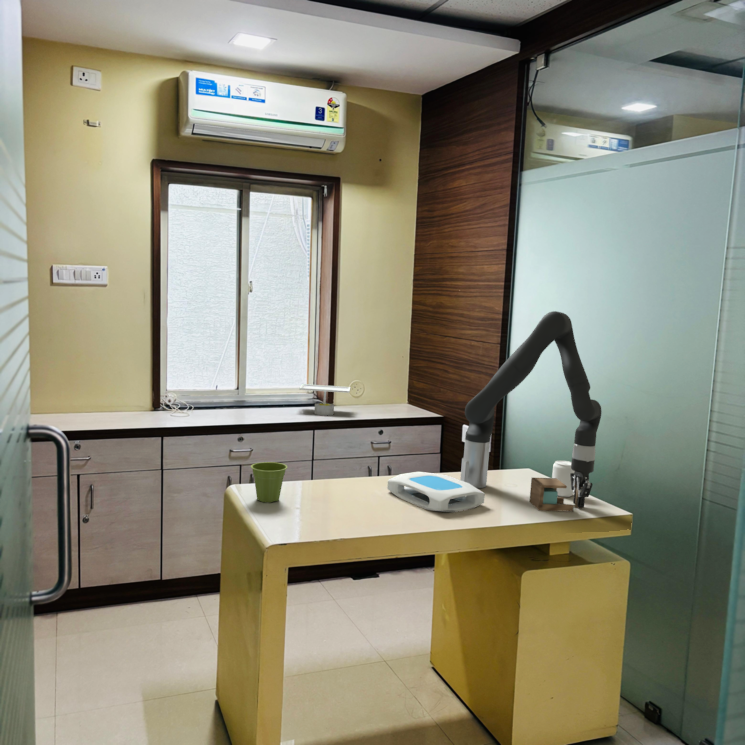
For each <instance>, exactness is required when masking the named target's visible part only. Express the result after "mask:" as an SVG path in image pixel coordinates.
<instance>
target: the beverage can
mask: <svg viewBox="0 0 745 745" xmlns="http://www.w3.org/2000/svg"><path fill="white" fill-rule="evenodd" d="M571 462H572V461H569V460H555V461H554V463H553V466H552V474H551V478H557V479H558V480H559V481H561V482H562V483H563V484H565V485H566V486H567V488H557V492H558V495H557V497H563V498H570V497H572V496H574V493H573V490H572V489H571V477H570V474H571V473H574V472H575V471H573V470H572V469H571Z"/></svg>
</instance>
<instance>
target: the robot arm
mask: <svg viewBox="0 0 745 745" xmlns="http://www.w3.org/2000/svg"><path fill="white" fill-rule="evenodd" d="M574 333H575V332H574V329H573V324H572V320H571V318H570V317H569V315H567V314H566V313H564V312H561V311H556V310H555V311H554V310H553V311H549V312H548V313H546V314H545V315H543V316H542V318H541V320H539V322H538V323H537V325H536V326H535V328H534V329H533V330H532V332H531V333H530V335H529V336H528V337H527V338H526V339H525V340H524V341H523V342H522V343H521V344H520V345H519V346H518V348H516V350H514V352H513V353H512V354H510V356H509V357H508V358H507V359H506V360H505V362H504V363H503V364H502V365H501V366H500V367H499V368H498V370H497V371H496V373H495V374H494V375H493V376H492V377H491V379H490V380H489V382H488V383H487V384H486V385H485V386H484V387H483V388H482V390H480V391H479V392H478V393H477V394H476V395H475V396H474V397H472V398H471V399H470V400H469V401H468V402H467V404H466V405H465V409H464V416H465V418H466V420H467V421H468V422H469V423H468V424H469V425H468V428H467V429H466V432H465V436H464V448H463V449H464V450H463V457H462V458H461V468H460V469H461V470H460V479H459V480H461V481H464V482H467V483H469V484H471V485H472V486H474V487H475V488H477V489H484V488H486V487H487V482H488V470H489V459H490V458H489V457H490V444H491V436H492V434H493V430H494V421H495V407H496V406H497V405H498V403H499V402H500V401H501V400H502V399H503V398H504V397H506V396H507V395H508V394H510V393H511V392H512V391H513V390H515V389H516V388H517V387H519V385H520V384H521V383H523V381H524V380H525V379H526V378H527V377H528V376H529V375H530V374H531V372H532V371H533V369H535V367H536V365H537V362H538V361H539V359H540V358H541V356H542V354H543V352H544V351H545V350H546V349H547V348H548V347H549V346H550V345H551V344H552V343H553V342H554V343H555V344H556V346H557V349H558V352H559V355H560V360H561V366H562V371H563V372H562V373H563V375H564V378H565V379H564V380H565V381H566V382H565V383H566V385H567V387H568V390H569V392H570V399H571V405H572V410H573V412H574V415H575V416H576V418H577V419H578V420H579V421H580V422H579V425H578V427H576V429H575V432H574V442H573V446H572V455H571V461H570V462H571V469H572V470H573V471H575V472H574V473H571V474H570V477H571V489H572V490H573V493H574V494H573V503H572V504H573V505H575V499H576V489H577V490H578V502H577V507H579V508H578V509H582V508H584V507H585V501H586V500H585V499H586V498H589V496H590V493H591V490H592V487H593V484H594V483H593V482H590V474H591V473H593V472H594V469H595V460H596V442H597V441H596V440H597V432H598V428H599V426H600V421H601V417H602V405H601V404H600V403H599V401H597V400H595V399H591V395H590V390H591V384H590V382H589V379H588V376H587V373H586V371H585V367H584V365H583V362H582V359H581V357H580V354H579V351H578V347H577V343H576V339H575V335H574ZM580 487H583V488H580ZM581 491H582V492H581Z"/></svg>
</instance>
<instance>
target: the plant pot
mask: <svg viewBox="0 0 745 745" xmlns="http://www.w3.org/2000/svg"><path fill="white" fill-rule="evenodd" d="M250 468H251V469H252V475H253V478H254V485H255V495H256V500H257V501H260V502H261V503H273V502H278V501H279V500H280V497H281V491H282V486H283V481H284V476H285V473H286V470H287V469H288V465H287V464H284V463H282V462H281V463H280V462H276V461H275V462H274V461H269V462H268V461H264V462H256V463H253V464H251V465H250Z"/></svg>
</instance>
